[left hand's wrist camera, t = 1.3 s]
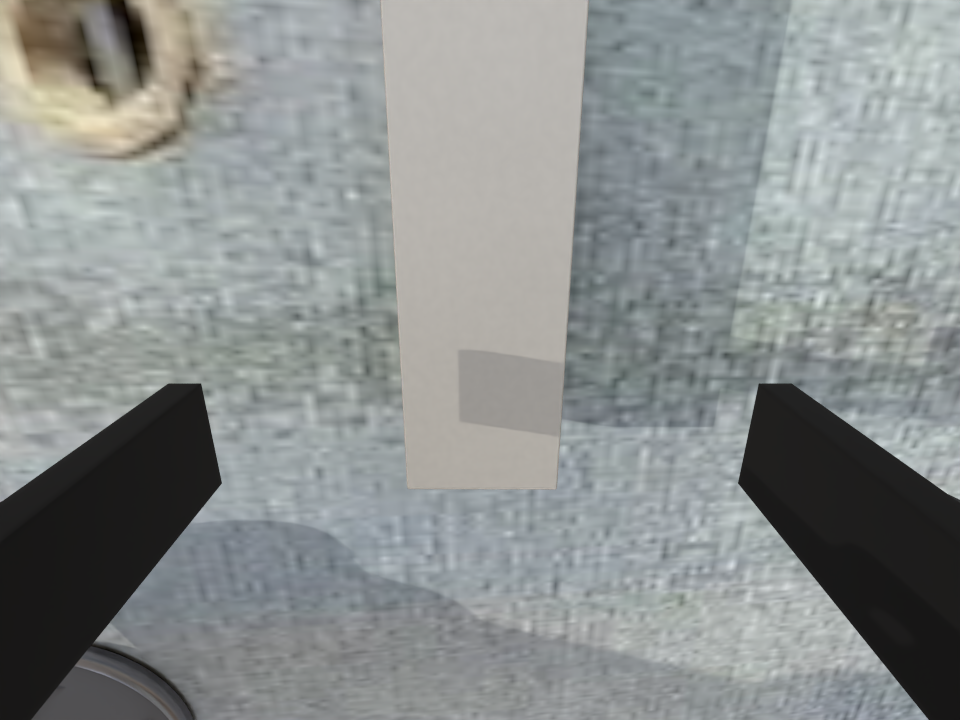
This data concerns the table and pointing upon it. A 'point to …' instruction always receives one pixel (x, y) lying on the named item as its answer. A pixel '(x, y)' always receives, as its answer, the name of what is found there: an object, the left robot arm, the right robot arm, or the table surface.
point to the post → (483, 230)
